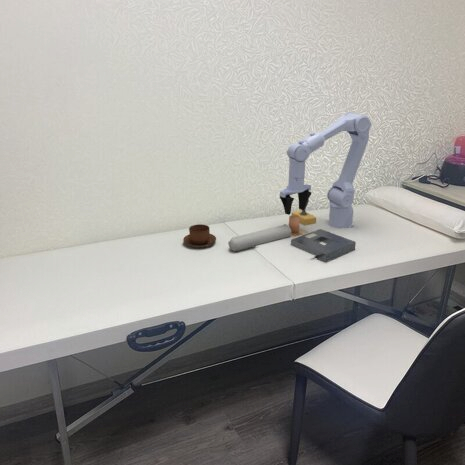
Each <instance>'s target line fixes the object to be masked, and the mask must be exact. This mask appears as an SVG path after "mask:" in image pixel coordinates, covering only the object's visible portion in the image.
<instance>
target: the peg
mask: <svg viewBox="0 0 465 465" xmlns="http://www.w3.org/2000/svg"><path fill="white" fill-rule="evenodd" d="M288 216H289V217H288V218H289V219H288V226H289V227H290V229H291V233H299V229H300V224H301V223H300V216H297V215H292V214H290V215H288Z"/></svg>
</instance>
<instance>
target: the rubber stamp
mask: <svg viewBox="0 0 465 465" xmlns="http://www.w3.org/2000/svg"><path fill="white" fill-rule="evenodd" d="M309 201H310V198H309V199H308V201H307V203H306V206H305V209H304V210H300V209H299V210H296V211H295V210H294V211H291V215H297V216H300V224H301V225H303V226H308V225H313V224H316V223H317V216H315V215H313V214H311V213H309V212H307V211H306V209H307V206H308V204H309Z"/></svg>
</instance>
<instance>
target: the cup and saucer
mask: <svg viewBox="0 0 465 465" xmlns="http://www.w3.org/2000/svg"><path fill="white" fill-rule="evenodd" d="M188 232H189V234H187V235H185V236H184V237H183V238H182V239H183V240H182V241H183V243H184V244H185V245H187V246H189V247H192V248H205V247H209V246H211V245H213V244H214V243H216V240H217V237H216V235H215V234H212V233H210V226H209V225H207V224H194V225H191V226H189V228H188Z"/></svg>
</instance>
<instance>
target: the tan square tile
mask: <svg viewBox="0 0 465 465" xmlns="http://www.w3.org/2000/svg"><path fill="white" fill-rule="evenodd" d="M308 233H309V231H307V230H304V229H302V228H299V233H291V236H290V237H292V238H297V237H300V236H302V235H305V234H308Z"/></svg>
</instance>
